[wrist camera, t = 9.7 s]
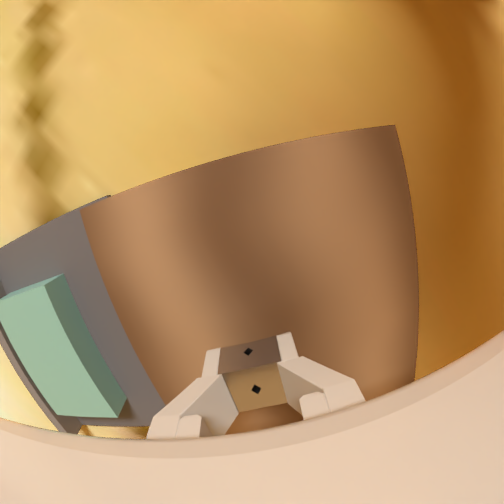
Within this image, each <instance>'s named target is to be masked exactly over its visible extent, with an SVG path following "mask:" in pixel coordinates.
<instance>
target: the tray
mask: <svg viewBox="0 0 504 504" xmlns="http://www.w3.org/2000/svg"><path fill="white" fill-rule="evenodd" d="M109 197H111V196H110V195H107V196H105V197H102V198H100V199H97V200H95V201H93V202H91V203H88V204H86V205H84V206H81V207H79V208H77V209H75V210H73V211H71V212H68V213H66V214H64V215H62V216H60V217H58V218H56V219H54V220H52V221H50V222H48V223H46V224H44V225H42V226H40V227H38V228H36V229H34V230H32V231H30V232H28V233H27V234H25V235H23V236H21V237H19V238H17V239H16V240H14V241H12V242H10V243H9V244H7V245H5V246H3V247H2V248H0V299H1V298H3V297H4V296H6V295H8V294H9V293H11V292H14V291H16V290H19V289H22V288H24V287H27V286H30V285H32V284H35V283H38V282H41V281H43V280H46V279H49V278H52V277H55V276H57V275H60V274H63V273H64V276H65V278H66V281H67V283H68V286H69V288H70V291H71V293H72V296H73V298H74V300H75V303H76V305H77V307H78V309H79V312H80V314H81V316H82V318H83V320H84V322H85V324H86V327H87V329H88V331H89V333H90V335H91V337H92V339H93V340H94V342H95V344H96V346H97V348H98V350H99V352H100V354H101V355H102V357H103V359H104V361H105V363H106V364H107V366H108V368H109V369H110V371H111V373H112V375H113V376H114V378H115V379H116V381H117V383H118V384H119V386H120V387H121V389H122V391H123V392H124V394H125V395H126V397H127V399H126V401H125V403H124V405H123V407H122V410H121V412H120V414H119V416H118V418H108V417H79V416H65V415H57V414H56V413H55V411H54V410H53V409H52V407H51V406H50V405H49V403H48V402H47V401H46V399H45V398H44V396H43V395H42V393H41V392H40V391H39V389H38V388H37V386H36V385H35V383H34V381H33V380H32V378H31V377H30V375H29V374H28V372H27V370H26V369H25V367H24V365H23V364H22V362H21V360H20V358H19V357H18V355H17V353H16V351H15V349H14V348H13V346H12V344H11V342H10V340H9V338H8V336H7V334H6V332H5V330H4V328H3V326H2V324H1V321H0V344H1V346H2V348H3V350H4V351H5V353H6V355H7V357H8V359H9V360H10V362H11V364H12V366H13V367H14V369H15V371H16V372H17V374H18V376H19V377H20V379H21V380H22V382H23V383H24V385H25V387H26V388H27V390H28V391H29V392H30V394H31V395H32V397H33V398H34V400H35V401H36V402H37V404H38V405H39V407H40V408H41V409H42V411H43V412H44V413H45V415H46V416H47V417H48V418H49V420H50V421H51V422H52V423H53V425H54V426H55V427H56V428H57V429H58V431H59V432H64V433H71V434H78V432H79V430H80V428H81V426H82V425H96V426H150V425H151V422H152V419H153V417H154V416H155V415H156V414H157V413H158V412H159V411H161V410H162V409H163V408H164V407H165V406H166V405H165V404H164V402H163V400H162V399H161V397H160V395H159V394H158V392H157V390H156V389H155V387H154V385H153V384H152V382H151V380H150V378H149V377H148V375H147V373H146V371H145V369H144V368H143V366H142V364H141V362H140V360H139V358H138V356H137V355H136V353H135V351H134V349H133V347H132V345H131V343H130V341H129V339H128V337H127V335H126V333H125V331H124V328H123V326H122V324H121V322H120V320H119V318H118V315H117V313H116V311H115V309H114V306H113V304H112V302H111V299H110V297H109V294H108V292H107V290H106V287H105V285H104V282H103V280H102V277H101V274H100V272H99V269H98V266H97V263H96V261H95V258H94V255H93V252H92V249H91V246H90V243H89V240H88V237H87V234H86V231H85V227H84V224H83V221H82V217H81V214H80V209H83V208H85V207H87V206H90V205H92V204H94V203H97V202H99V201H101V200H104V199H106V198H109Z"/></svg>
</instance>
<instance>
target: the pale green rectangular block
mask: <svg viewBox="0 0 504 504" xmlns="http://www.w3.org/2000/svg"><path fill="white" fill-rule="evenodd" d="M0 321H1V324H2V326H3V328H4V330H5V332H6V334H7V336H8V338H9V340H10V342H11V344H12V346H13V348H14V349H15V351H16V353H17V355H18V357H19V358H20V360H21V362H22V364H23V365H24V367H25V369H26V370H27V372H28V374H29V375H30V377H31V378H32V380H33V381H34V383H35V385H36V386H37V388H38V389H39V391H40V392H41V393H42V395H43V396H44V398H45V399H46V401H47V402H48V403H49V405H50V406H51V407H52V409H53V410H54V411H55V413H56V414H57V415H65V416H79V417H108V418H118V416H119V414H120V412H121V410H122V407H123V405H124V403H125V401H126V399H127V397H126V395H125V394H124V392H123V391H122V389H121V387H120V386H119V384H118V383H117V381H116V379H115V378H114V376H113V375H112V373H111V371H110V369H109V368H108V366H107V364H106V363H105V361H104V359H103V357H102V355H101V354H100V352H99V350H98V348H97V346H96V344H95V342H94V340H93V339H92V337H91V335H90V333H89V331H88V329H87V327H86V324H85V322H84V320H83V318H82V316H81V314H80V312H79V309H78V307H77V305H76V303H75V300H74V298H73V296H72V293H71V291H70V288H69V286H68V283H67V281H66V278H65V276H64V273H63V274H60V275H57V276H55V277H52V278H49V279H46V280H43V281H41V282H38V283H35V284H32V285H30V286H27V287H24V288H22V289H19V290H16V291H14V292H11V293H9V294H8V295H6V296H4V297H3V298H1V299H0Z"/></svg>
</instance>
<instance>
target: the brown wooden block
mask: <svg viewBox="0 0 504 504" xmlns="http://www.w3.org/2000/svg"><path fill="white" fill-rule="evenodd" d="M80 214H81V217H82V221H83V224H84V227H85V231H86V234H87V237H88V240H89V243H90V246H91V249H92V252H93V255H94V258H95V261H96V263H97V266H98V269H99V272H100V274H101V277H102V280H103V282H104V285H105V287H106V290H107V292H108V294H109V297H110V299H111V302H112V304H113V306H114V309H115V311H116V313H117V315H118V318H119V320H120V322H121V324H122V326H123V328H124V331H125V333H126V335H127V337H128V339H129V341H130V343H131V345H132V347H133V349H134V351H135V353H136V355H137V356H138V358H139V360H140V362H141V364H142V366H143V368H144V369H145V371H146V373H147V375H148V377H149V378H150V380H151V382H152V384H153V385H154V387H155V389H156V390H157V392H158V394H159V395H160V397H161V399H162V400H163V402H164V404H165V405H168V404H169V403H170V402H171V401H172V400H173V399H174V398H176V397H177V396H178V395H179V394H180V393H181V392H182V391H183V390H185V389H186V388H187V387H188V386H189V385H190V384H191V383H192V382H193V381H195V380H196V379H197V378H200V377H201V376H202V371H203V366H204V361H205V356H206V352H207V351H208V350H211V349H215V348H222V347H227V346H232V345H237V344H242V343H247V342H253V341H257V340H261V339H265V338H269V337H272V336H276V335H280V334H283V333H286V332H291V334H292V337H293V340H294V343H295V347H296V350H297V353H298V356H299V357H301V356H304V357H306V358H308V359H310V360H312V361H314V362H317V363H319V364H321V365H323V366H325V367H328V368H330V369H332V370H334V371H336V372H339V373H341V374H343V375H346V376H348V377H350V378H353V379H355V381H356V383H357V385H358V387H359V389H360V391H361V393H362V395H363V397H364V399H365V401H368V400H371V399H373V398H376V397H379V396H381V395H384V394H386V393H389V392H391V391H394V390H396V389H398V388H401V387H403V386H405V385H407V384H410V383H412V382H414V378H415V368H416V358H417V344H418V322H419V284H418V262H417V248H416V237H415V227H414V219H413V211H412V204H411V197H410V191H409V185H408V180H407V175H406V169H405V165H404V160H403V155H402V151H401V147H400V142H399V138H398V135H397V131H396V127H395V125H388V126H380V127H372V128H364V129H357V130H351V131H344V132H338V133H332V134H326V135H321V136H315V137H310V138H305V139H300V140H295V141H291V142H286V143H281V144H277V145H273V146H268V147H264V148H260V149H256V150H252V151H248V152H244V153H240V154H237V155H233V156H229V157H226V158H222V159H219V160H215V161H212V162H208V163H205V164H202V165H198V166H195V167H192V168H189V169H186V170H182V171H179V172H176V173H173V174H170V175H167V176H164V177H162V178H159V179H156V180H153V181H150V182H147V183H145V184H142V185H139V186H137V187H134V188H131V189H129V190H126V191H124V192H121V193H118V194H116V195H113V196H111V197H109V198H106V199H104V200H101V201H99V202H97V203H94V204H92V205H90V206H87V207H85V208H83V209H80ZM276 337H277V336H276ZM238 413H239V414H238V415H237V417H236V418H235V420H234V421H233V423H232V424H231V426H230V427H229V429H228V430H227V432H226V433H225V435H228V434H236V433H243V432H249V431H255V430H261V429H266V428H271V427H276V426H281V425H286V424H290V423H294V422H299V421H303V420H304V419H303V415H301V414H300V413H299V412H298V411H296V410H295V409H294V408H293V407H291V406H290V405H289V404H288V403H284V404H279V405H273V406H268V407H262V408H258V409H253V410H248V411H243V412H238Z"/></svg>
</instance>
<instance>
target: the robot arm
mask: <svg viewBox="0 0 504 504" xmlns="http://www.w3.org/2000/svg"><path fill="white" fill-rule="evenodd" d="M276 336H277V337H276ZM276 336H272V337H269V338H265V339H261V340H257V341H253V342H247V343H242V344H237V345H232V346H227V347H222V348H215V349H211V350H208V351H207V352H206V356H205V361H204V366H203V371H202V376H201V377H200V378H197V379H196V380H195V381H193V382H192V383H191V384H190V385H189V386H188V387H187V388H186V389H185V390H183V391H182V392H181V393H180V394H179V395H178V396H177V397H176V398H174V399H173V400H172V401H171V402H170V403H169V404H168V405H166V406H165V407H164V408H163V409H162V410H161V411H159V412H158V413H157V414H156V415H155V416H154V417H153V419H152V422H151V425H150V428H149V431H148V434H147V437H146V439H120V438H105V437H94V436H85V435H78V434H71V433H64V432H58V431H53V430H47V429H43V428H38V427H33V426H29V425H25V424H21V423H17V422H14V421H10V420H7V419H3V418H0V504H504V330H502V331H501V332H500V333H498V334H497V335H495V336H494V337H492V338H491V339H489V340H488V341H486V342H485V343H483V344H482V345H480V346H479V347H477V348H475V349H474V350H472V351H470V352H469V353H467V354H465V355H464V356H462V357H460V358H459V359H457V360H455V361H453V362H451V363H450V364H448V365H446V366H444V367H442V368H440V369H438V370H436V371H435V372H433V373H431V374H429V375H427V376H425V377H422V378H420V379H418V380H416V381H414V382H412V383H410V384H407V385H405V386H403V387H401V388H398V389H396V390H394V391H391V392H389V393H386V394H384V395H381V396H379V397H376V398H373V399H371V400H368V401H365V399H364V397H363V395H362V393H361V391H360V389H359V387H358V385H357V383H356V381H355V379H353V378H350V377H348V376H346V375H343V374H341V373H339V372H336V371H334V370H332V369H330V368H328V367H325V366H323V365H321V364H319V363H317V362H314V361H312V360H310V359H308V358H306V357H304V356H301V357H299V356H298V353H297V350H296V347H295V343H294V340H293V337H292V334H291V332H286V333H283V334H280V335H276ZM284 403H288V404H289V405H290V406H291V407H293V408H294V409H295V410H296V411H298V412H299V413H300V414H301V415H303V419H304V420H303V421H299V422H294V423H290V424H286V425H281V426H276V427H271V428H266V429H261V430H255V431H249V432H243V433H236V434H228V435H225V433H226V432H227V430H228V429H229V427H230V426H231V424H232V423H233V421H234V420H235V418H236V417H237V415H238V414H239V413H238V412H243V411H248V410H253V409H258V408H262V407H268V406H273V405H279V404H284Z"/></svg>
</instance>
